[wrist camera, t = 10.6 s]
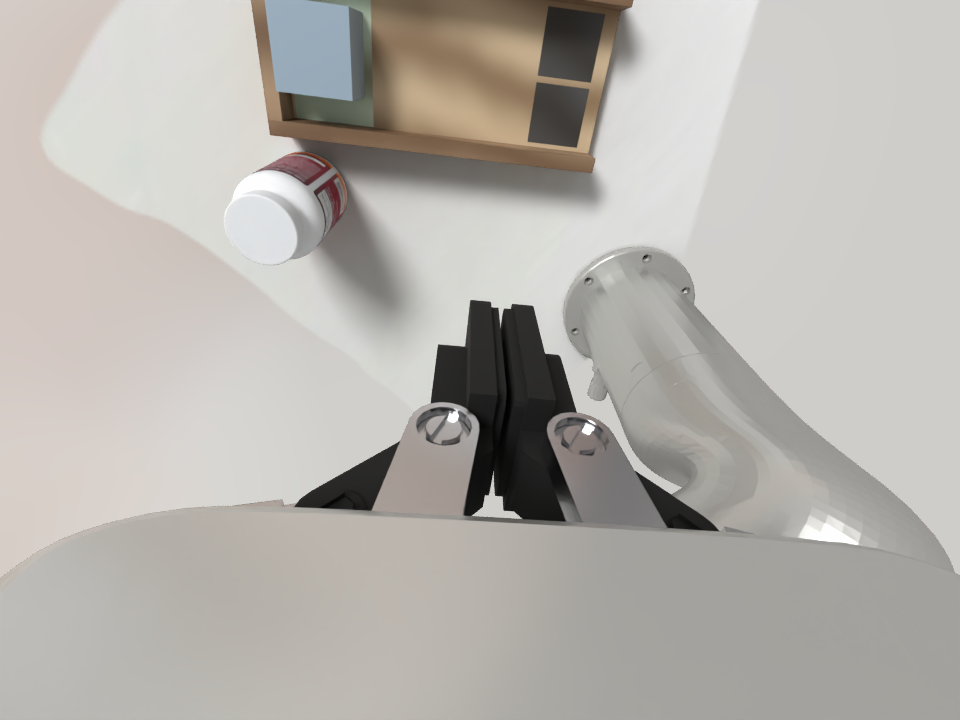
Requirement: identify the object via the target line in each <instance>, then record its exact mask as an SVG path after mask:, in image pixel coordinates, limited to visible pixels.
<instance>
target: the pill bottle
mask: <svg viewBox="0 0 960 720" xmlns="http://www.w3.org/2000/svg"><path fill="white" fill-rule="evenodd" d="M346 203H347V191H346V186H345V183H344V180H343V178H342V177H341V175H340V173H339V172H338V170H337V169H336V168H335V167H334V166H333V165H332V164H331V163H330V162H329V161H327V160H326V159H324V158H323V157H321V156H319V155H316V154H314V153H310V152H294V153H291V154H288V155H286V156H284V157H282V158H280V159H278V160H277V161H275V162H273V163H271V164H269V165H267V166H266V167H264V168H262V169H260V170H258V171H256V172H254V173H252V174H251V175H249V176H247V177H246V178H245V179H243V180H242V181H241V182H240V183H239V185H238V186H237V188H236V189H235V192H234V194H233V198H232V202H231V203H230V204H229V205H228V207H227V209H226V211H225V215H224V227H225V231H226V234H227V236H228V238H229V240H230V242H231V243H232V245H233V246H234V247H235V248H236V250H237V251H239V252H240V253H241V254H242V255H243V256H245V257H246V258H248V259H249V260H251V261H254V262H256V263H259V264H263V265H279V264H282V263H284V262H286V261H288V260H290V259H297V258H301V257H303V256H305V255H307V254H309V253H310V252H311V251H312V250H314V249H315V247H316V246H317V245H318V244H319V243H320V242H321V241H322V239H323V238H324V237H325V236H326V234H327V233H328V232H329V231H330V229H331V228H332V227H333V226H334V225H335V223H336V222H337V221H338V220H339V219H340V217H341V216H342V214H343V212H344V210H345V207H346Z"/></svg>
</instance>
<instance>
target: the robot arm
mask: <svg viewBox="0 0 960 720" xmlns="http://www.w3.org/2000/svg"><path fill="white" fill-rule="evenodd" d="M646 254H647V255H646ZM645 255H646V257H644V256H645ZM643 257H644V258H643ZM587 277H589V279H588V280H585V279H586V278H587ZM683 288H684V289H683ZM694 299H695V293H694V285H693V282H692V280H691V277H690V275H689V273H688V272H687V270H686V269H685V267H684V266H683V265H682V264H681V263H680V262H679V261H678V260H677V259H675V258H674V257H672V256H671V255H669V254H668V253H666V252H663V251H661V250H658V249H655V248H649V247H629V248H624V249H620V250H616V251H614V252H611V253H609V254H606V255H604V256H602V257H601V258H599V259H597V260H596V261H594V262H592V263H591V264H590V265H589V266H588V267H587V268H585V269H584V270H583V271H582V272H581V273H580V275H579V276H578V277H577V278H576V279H575V281H574V282H573V284H572V286H571V287H570V289H569V291H568V294H567V297H566V299H565V303H564V310H563V318H564V325H565V328H566V332H567V334H568V336H569V339H570V341H571V342H572V343H573V345H574V346H575V347H576V349H578V350H579V351H580V352H581V353H582V354H583V355H585V356H587V357H589V358H591V359H592V360H593V363H594V364H593V367H592V368H593V369H592V370H593V372H594V377H593V378H592V380H591V383H590V386H589V390H588V393H587V394H588V396H589V397H590V398H591V399H594V400H596V401H602V400H604V399H605V397H606V394H607V392H608V393H609V395H610V398H611V400H612V403H613V405H614V407H615V410H616V412H617V415H618V417H619V420H620V422H621V425H622V427H623V430H624V432H625V435H626V437H627V440H628V442H629V444H630V446H631V448H632V450H633V451H634V453H635V454H636V456H637V457H638V458H639V459H640V461H641V462H642V463H643V464H645V465H646V466H647V467H648V468H649V469H650V470H651V471H653V472H654V473H656V474H657V475H659V476H661V477H662V478H664V479H665V480H668V481H669V482H671V483H674V484H676V485H678V486H680V487H682V488H681V489H680V490H678V491H677V492H675V493H673V494H672V495H671V494H669V493H668V492H666V491H665V490H663V489H662V488H660V487H659V486H657V485H656V484H654V483H653V482H651V481H650V480H648V479H647V478H645V477H643V476H642V475H640V474H639V473H638V472H636V471H634V469H633V467H632V466H631V464H630V462H629V460H628V459H627V457H626V455H625V454H624V452H623V450H622V448H621V447H620V445H619V443H618V441H617V440H616V438H615V436H614V434H613V433H612V432H611V431H610V429H609V428H608V427H607V426H606V425H605V424H603V423H602V422H601V421H599V420H597V419H595V418H593V417H591V416H588V415H585V414H582V413H577V412H576V408H575V405H574V402H573V398H572V395H571V391H570V388H569V385H568V381H567V378H566V374H565V371H564V368H563V364H562V361H561V358H560V356H559V355H552V354H545V352H544V348H543V344H542V340H541V336H540V332H539V328H538V324H537V319H536V315H535V311H534V307H533V306H528V305H518V304H512V306H511V309H504V311H503V316H502V322H501V328H500V320H499V310H498V308H493V307H491V302H486V301H476V300H471V301H470V308H469V317H468V326H467V335H466V344H465V347H461V346H450V345H438V350H437V358H436V365H435V373H434V381H433V389H432V397H431V404H428V405H425V406H422V407H421V408H419V409H418V410H416V411H415V412H414V413H413V414H412V416H411V417H410V419H409V421H408V424H407V426H406V429H405V431H404V433H403V436H402V438H401V441H400V442H398V443H396V444H394V445H392V446H391V447H389V448H388V449H385V450H384V451H382V452H380V453H378V454H376V455H375V456H373V457H371V458H370V459H367V460H366V461H364V462H362V463H360V464H359V465H357V466H355V467H353V468H352V469H350V470H348V471H346V472H344V473H343V474H341V475H339V476H337V477H335V478H334V479H332V480H330V481H328V482H327V483H325V484H323V485H321V486H319V487H318V488H316V489H314V490H312V491H311V492H309V493H308V494H307V495H305V496H304V497H302V498H301V499H300V500H299V501H298V503H297V504H290V505H284V504H283V500H274V501H266V502H258V503H250V504H242V505H235V506H213V507H196V508H183V509H177V510H170V511H163V512H156V513H149V514H144V515H140V516H136V517H131V518H127V519H123V520H119V521H115V522H110V523H106V524H103V525H100V526H97V527H93V528H91V529H87V530H84V531H81V532H79V533H76V534H74V535H71V536H68V537H66V538H63V539H61V540H59V541H57V542H55V543H53V544H51V545H49V546H47V547H45V548H43V549H41V550H39V551H38V552H37V553H35V554H33V555H32V556H30V557H29V558H27V559H26V560H24V561H23V562H21V563H20V564H18V565H17V566H16V567H14V568H13V569H12V570H10V571H9V572H8V573H6V574H5V575H4V576H3V577H1V578H0V720H960V575H958V574H956V573H955V572H954V569H953V566H952V564H951V562H950V559H949V557H948V555H947V554H946V552H945V550H944V548H943V547H942V546H941V544H940V543H939V541H938V540H937V538H936V537H935V535H934V534H933V533H932V532H931V531H930V530H929V528H927V526H926V525H925V524H924V523H923V522H922V521H921V520H920V519H919V517H918V516H917V515H916V514H915V513H914V512H913V511H912V510H911V509H910V508H909V507H908V506H907V505H906V504H905V503H904V502H903V501H901V500H900V499H899V498H898V497H897V496H896V495H895V494H893V493H892V492H891V491H890V490H889V489H888V488H887V487H885V486H884V485H883V484H882V483H880V482H879V481H878V480H877V479H875V478H874V477H873V476H871V475H870V474H869V473H868V472H866V471H865V470H864V469H862V468H861V467H859V466H858V465H857V464H856V463H855V462H853V461H852V460H851V459H849V458H848V457H847V456H845V455H844V454H843V453H842V452H840V451H839V450H838V449H836V448H835V447H834V446H833V445H831V444H830V443H829V442H828V441H826V440H825V439H824V438H822V437H821V436H820V435H819V434H818V433H817V432H816V431H814V430H813V429H812V428H811V427H810V426H809V425H807V424H806V423H805V422H804V421H803V420H802V419H801V418H799V417H798V416H797V415H796V414H795V413H794V412H793V411H792V410H791V409H790V408H789V407H788V406H787V405H786V404H785V403H784V402H783V401H782V400H781V399H780V398H779V397H778V396H777V395H776V394H775V393H774V392H773V391H772V390H771V389H770V388H769V386H768V385H767V384H766V383H765V382H764V381H763V380H762V379H761V378H760V377H759V376H758V375H757V373H756V372H755V371H754V370H753V369H752V368H751V367H750V366H749V365H748V364H747V363H746V361H745V360H744V359H743V358H742V357H741V356H740V355H739V354H738V353H737V352H736V351H735V350H734V348H733V347H732V346H731V345H730V344H729V343H728V342H727V341H726V340H725V338H724V337H723V336H722V335H721V334H720V333H719V332H718V331H717V330H716V329H715V328H714V326H713V325H712V324H711V323H710V322H709V321H708V320H707V319H706V318H705V316H704V315H702V313H701V312H700V311H699V310H698V309H697V308H696V307H695V306H694ZM574 328H575V329H574ZM493 470H494V487H495V496H503V509H504V511H514V512H515V513H517V514H518V515H519V516H520V517H521V518H522V519H511V518H494V517H477V516H472V515H473V514H474V513H476V512H477V511H478V510H479V509H480V508H482V507H483V502H484V497H485V495H489V491H490V487H491V481H492V475H493Z"/></svg>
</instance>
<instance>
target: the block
mask: <svg viewBox="0 0 960 720" xmlns="http://www.w3.org/2000/svg"><path fill="white" fill-rule="evenodd" d="M265 7H266V15H267V23H268V31H269V39H270V47H271V55H272V63H273V71H274V79H275V87H276V91H278V92H286V93H293V94H301V95H309V96H317V97H324V98H332V99H340V100H348V101H355V100H358V99H361V98H364V97H365V84H364V49H363V15H362V12H360V11H358V10H356V9H353V8H351V7H349V6H343V5H336V4H329V3H322V2H315V1H309V0H265Z"/></svg>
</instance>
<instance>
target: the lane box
mask: <svg viewBox="0 0 960 720" xmlns="http://www.w3.org/2000/svg"><path fill="white" fill-rule="evenodd" d="M309 1H315V2H322V3H329V4H336V5H343V6H349V7H351V8H353V9H356V10H358V11H360V12H362V15H363V49H364V84H365V97H364V98H361V99H358V100H355V101H348V100H340V99H332V98H324V97H317V96H309V95H301V94H293V93H286V92H278V91H276V87H275V79H274V71H273V63H272V55H271V47H270V39H269V31H268V23H267V15H266V7H265V0H251V4H252V11H253V18H254V25H255V32H256V39H257V46H258V53H259V60H260V67H261V74H262V81H263V88H264V95H265V102H266V109H267V116H268V123H269V130H270V135H274V136H283V137H291V138H299V139H308V140H316V141H325V142H333V143H342V144H350V145H359V146H367V147H375V148H384V149H392V150H401V151H409V152H418V153H426V154H435V155H443V156H451V157H460V158H468V159H477V160H485V161H494V162H502V163H511V164H519V165H527V166H536V167H544V168H553V169H561V170H570V171H578V172H587V173H592V171H593V167H594V163H595V158H593V157H592V156H591V155H590V154H588V152H589V148H590V143H591V139H592V135H593V130H594V126H595V122H596V117H597V113H598V108H599V104H600V100H601V95H602V91H603V87H604V82H605V78H606V73H607V69H608V65H609V60H610V56H611V52H612V47H613V43H614V39H615V34H616V30H617V25H618V21H619V17H620V12H621V11H622V10H625V9H627V8H630V7H632V4H633V0H309Z"/></svg>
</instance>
